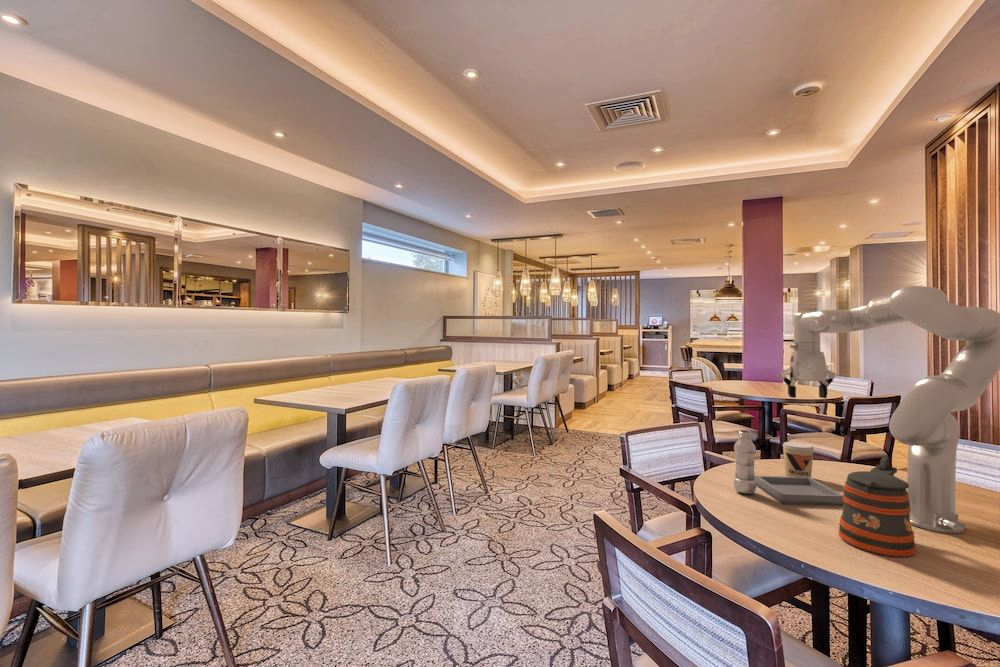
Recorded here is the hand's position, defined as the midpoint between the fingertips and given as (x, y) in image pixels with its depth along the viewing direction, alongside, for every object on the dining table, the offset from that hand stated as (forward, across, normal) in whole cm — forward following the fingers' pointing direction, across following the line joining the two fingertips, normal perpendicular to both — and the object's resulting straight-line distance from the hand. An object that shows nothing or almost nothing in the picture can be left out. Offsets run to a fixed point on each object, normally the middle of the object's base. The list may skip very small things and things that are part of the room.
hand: (807, 397), depth 154 cm
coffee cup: (+30, +1, +8) cm, 31 cm away
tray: (+30, -9, -10) cm, 33 cm away
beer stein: (+31, -6, -42) cm, 52 cm away
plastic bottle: (+30, -25, -11) cm, 41 cm away
